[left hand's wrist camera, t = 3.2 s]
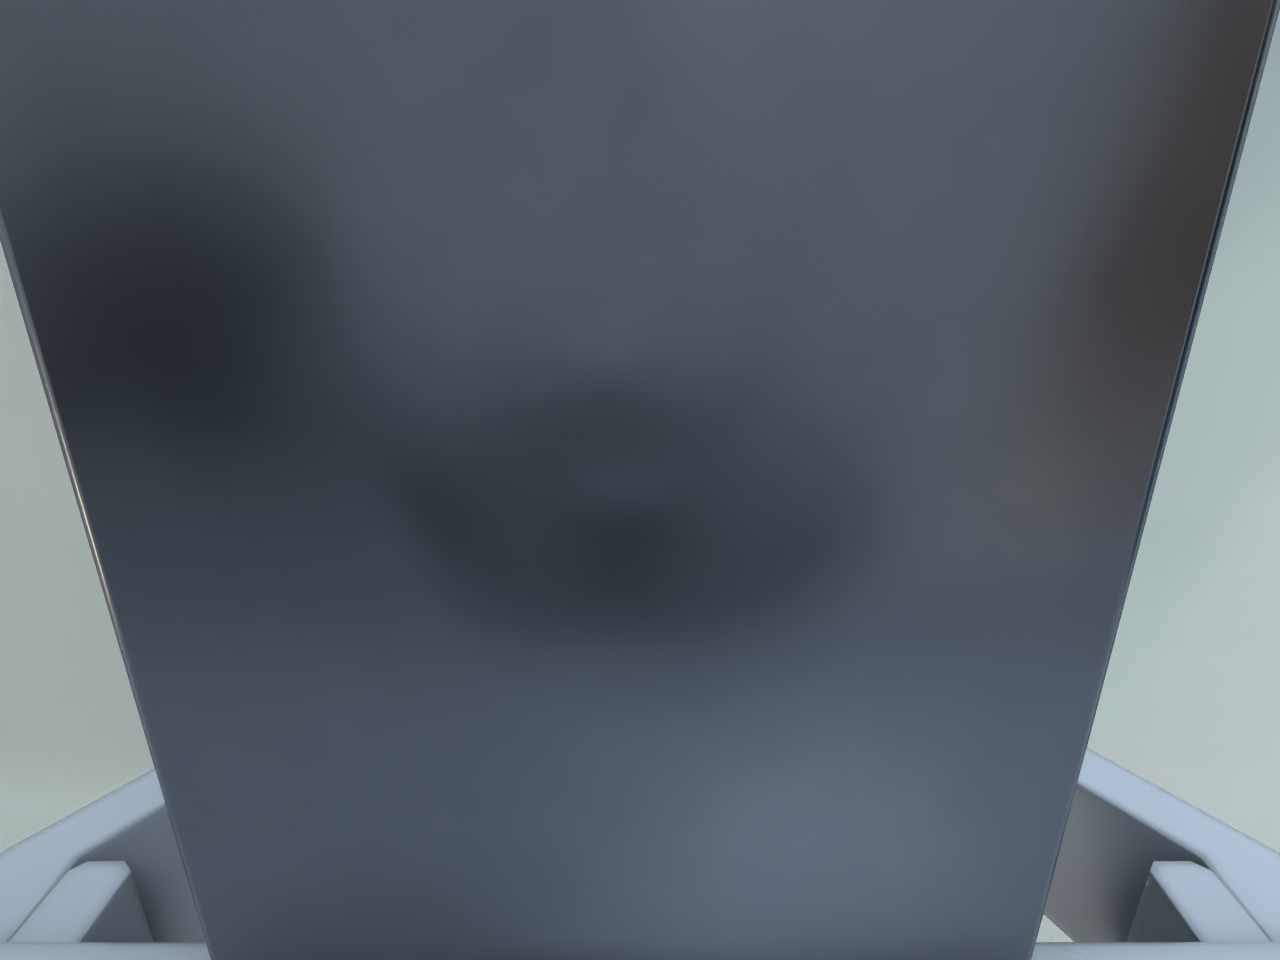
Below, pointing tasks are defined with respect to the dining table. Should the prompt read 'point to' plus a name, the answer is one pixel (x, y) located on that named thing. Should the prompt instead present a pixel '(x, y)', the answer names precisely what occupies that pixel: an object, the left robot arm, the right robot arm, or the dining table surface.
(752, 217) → the bar
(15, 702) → the dining table surface
